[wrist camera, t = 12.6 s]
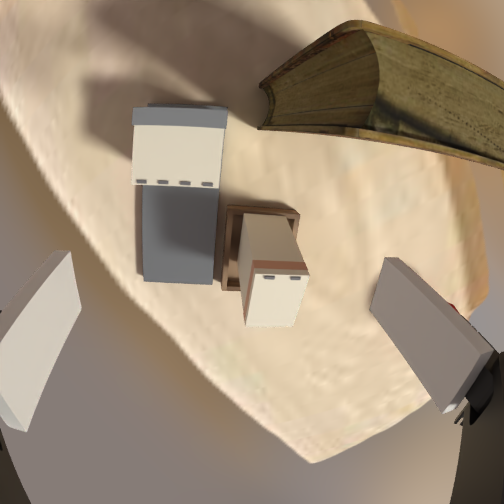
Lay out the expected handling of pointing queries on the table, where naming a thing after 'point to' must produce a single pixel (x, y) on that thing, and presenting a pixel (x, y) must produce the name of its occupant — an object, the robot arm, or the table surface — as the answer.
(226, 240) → the tray
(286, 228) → the stub
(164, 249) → the board
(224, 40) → the table surface
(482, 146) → the book
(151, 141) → the pad
